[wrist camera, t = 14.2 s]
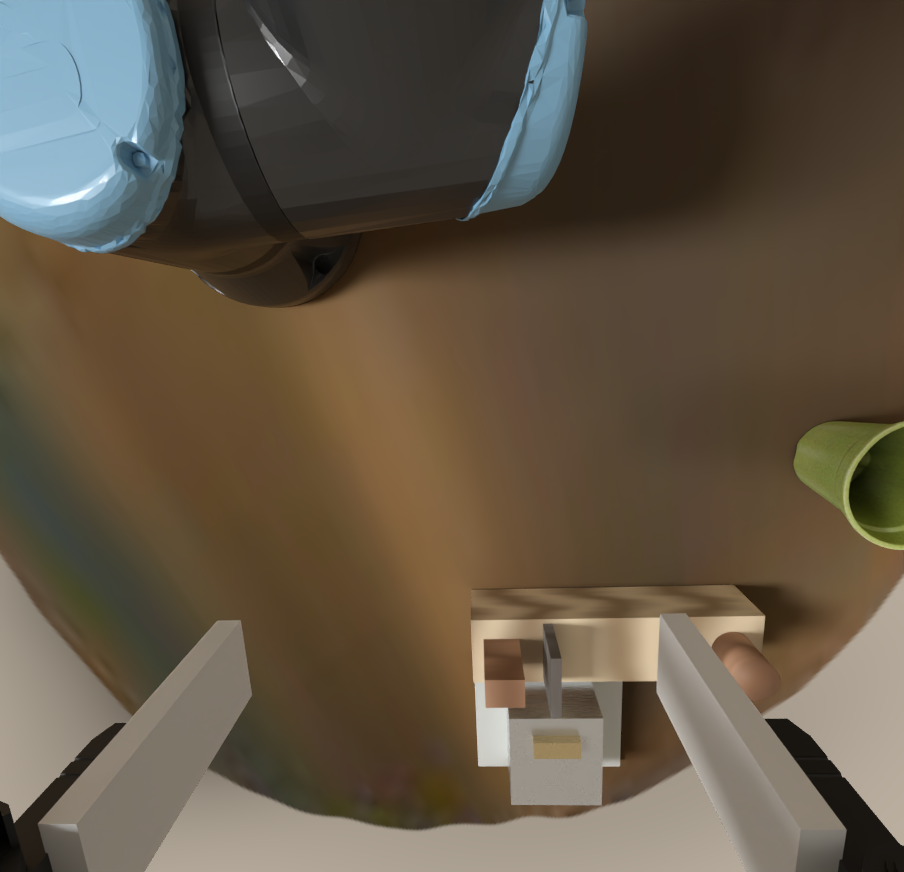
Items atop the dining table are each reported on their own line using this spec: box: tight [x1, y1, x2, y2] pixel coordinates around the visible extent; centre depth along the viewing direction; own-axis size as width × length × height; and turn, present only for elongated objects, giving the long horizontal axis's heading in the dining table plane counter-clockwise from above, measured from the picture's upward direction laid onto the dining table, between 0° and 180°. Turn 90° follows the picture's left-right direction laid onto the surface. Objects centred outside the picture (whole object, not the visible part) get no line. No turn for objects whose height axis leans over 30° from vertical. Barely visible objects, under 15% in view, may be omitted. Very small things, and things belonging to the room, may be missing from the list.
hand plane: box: [471, 585, 780, 718], centre depth 41 cm, size 24×6×10 cm, turn 93°
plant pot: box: [793, 421, 904, 550], centre depth 38 cm, size 9×9×9 cm
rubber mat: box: [475, 681, 622, 766], centre depth 48 cm, size 14×11×1 cm
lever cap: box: [506, 682, 603, 805], centre depth 45 cm, size 9×8×6 cm
